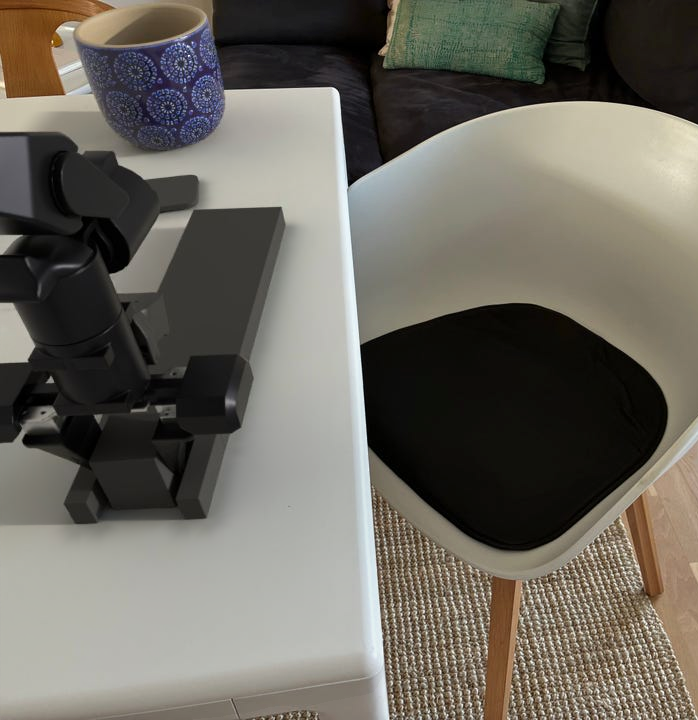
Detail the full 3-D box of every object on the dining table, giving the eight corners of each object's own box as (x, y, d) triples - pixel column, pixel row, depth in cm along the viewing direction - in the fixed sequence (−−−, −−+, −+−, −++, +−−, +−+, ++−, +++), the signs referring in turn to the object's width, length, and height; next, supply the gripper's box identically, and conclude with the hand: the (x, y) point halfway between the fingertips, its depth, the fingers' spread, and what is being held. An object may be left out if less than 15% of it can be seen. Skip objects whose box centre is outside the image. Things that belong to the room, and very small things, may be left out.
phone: (196, 202, 93) (62, 218, 90) (198, 208, 93) (64, 224, 91) (198, 173, 98) (72, 187, 95) (199, 179, 99) (74, 193, 96)
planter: (219, 160, 102) (189, 45, 92) (93, 163, 102) (49, 49, 92) (245, 106, 114) (221, 0, 105) (132, 109, 114) (97, 3, 104)
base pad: (207, 518, 59) (198, 498, 58) (74, 524, 59) (62, 503, 57) (285, 225, 90) (281, 206, 89) (199, 228, 90) (193, 209, 88)
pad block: (175, 506, 60) (154, 459, 56) (113, 509, 60) (87, 462, 56) (190, 459, 64) (171, 412, 60) (131, 461, 63) (108, 414, 60)
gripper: (243, 243, 57) (283, 396, 67) (-17, 252, 56) (64, 404, 67) (210, 342, 48) (261, 499, 59) (-95, 354, 48) (11, 510, 58)
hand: (148, 473), depth 61 cm, fingers closed on pad block, 5 cm apart
